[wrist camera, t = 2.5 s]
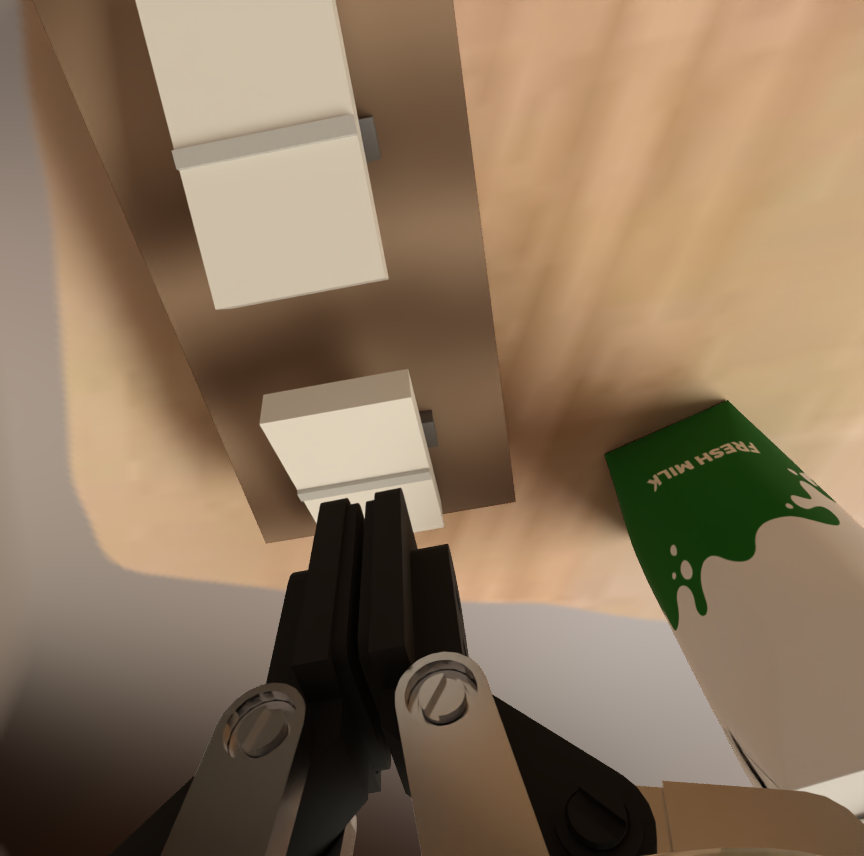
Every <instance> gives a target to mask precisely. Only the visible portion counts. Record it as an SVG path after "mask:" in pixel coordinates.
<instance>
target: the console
mask: <svg viewBox="0 0 864 856" xmlns="http://www.w3.org/2000/svg"><path fill="white" fill-rule="evenodd" d="M32 1H33V3H34V5H35V8H36V10H37V12H38V15H39V17H40V19H41V22H42V24H43V26H44V29H45V31H46V33H47V36H48V38H49V40H50V43H51V45H52V47H53V50H54V52H55V54H56V57H57V59H58V61H59V64H60V66H61V68H62V70H63V73H64V75H65V77H66V80H67V82H68V84H69V87H70V89H71V91H72V94H73V96H74V98H75V101H76V103H77V105H78V108H79V110H80V112H81V115H82V117H83V119H84V122H85V124H86V126H87V129H88V131H89V133H90V136H91V138H92V140H93V143H94V145H95V147H96V149H97V152H98V154H99V156H100V159H101V161H102V163H103V166H104V168H105V170H106V173H107V175H108V177H109V180H110V182H111V184H112V187H113V189H114V191H115V194H116V196H117V198H118V201H119V203H120V205H121V208H122V210H123V212H124V215H125V217H126V219H127V222H128V224H129V226H130V229H131V231H132V233H133V235H134V238H135V240H136V242H137V245H138V247H139V249H140V252H141V254H142V256H143V259H144V261H145V263H146V266H147V268H148V270H149V273H150V275H151V277H152V280H153V282H154V284H155V287H156V289H157V291H158V294H159V296H160V298H161V301H162V303H163V305H164V308H165V310H166V312H167V315H168V317H169V319H170V321H171V324H172V326H173V328H174V331H175V333H176V335H177V338H178V340H179V342H180V345H181V347H182V349H183V352H184V354H185V356H186V359H187V361H188V363H189V366H190V368H191V370H192V373H193V375H194V377H195V380H196V382H197V384H198V387H199V389H200V391H201V394H202V396H203V398H204V401H205V403H206V405H207V407H208V410H209V412H210V414H211V417H212V419H213V421H214V424H215V426H216V428H217V431H218V433H219V435H220V438H221V440H222V442H223V445H224V447H225V449H226V452H227V454H228V456H229V459H230V461H231V463H232V466H233V468H234V470H235V473H236V475H237V477H238V480H239V482H240V484H241V486H242V489H243V491H244V493H245V496H246V498H247V500H248V503H249V505H250V507H251V510H252V512H253V514H254V517H255V519H256V521H257V524H258V526H259V528H260V531H261V533H262V535H263V538H264V540H265V542H266V544H267V543H273V542H279V541H285V540H291V539H296V538H302V537H308V536H314V535H315V530H316V524H317V523H316V522H315V520H314V518H313V517H312V515H311V513H310V511H309V510H308V508H307V506H306V504H305V503H304V501H302V502H301V500H300V499H299V497H298V495H297V489H296V487H295V485H294V483H293V482H292V480H291V478H290V477H289V475H288V473H287V471H286V470H285V468H284V466H283V464H282V463H281V461H280V459H279V457H278V456H277V454H276V452H275V450H274V449H273V447H272V445H271V444H270V442H269V440H268V438H267V437H266V435H265V433H264V431H263V430H262V428H261V426H260V424H259V423H260V416H261V408H262V401H263V395H265V394H271V393H276V392H282V391H287V390H293V389H298V388H304V387H309V386H315V385H321V384H326V383H332V382H337V381H343V380H348V379H354V378H359V377H365V376H371V375H376V374H382V373H387V372H393V371H398V370H404V369H408V370H409V374H410V378H411V382H412V387H413V391H414V395H415V399H416V403H417V407H418V411H419V415H420V419H421V423H422V427H423V431H424V435H425V439H426V443H427V447H428V451H429V455H430V459H431V463H432V467H433V471H434V475H435V479H436V483H437V487H438V491H439V495H440V499H441V505H442V513H443V514H446V513H452V512H458V511H464V510H470V509H476V508H482V507H488V506H494V505H499V504H505V503H511V502H516V500H515V492H514V484H513V476H512V468H511V460H510V452H509V444H508V436H507V428H506V420H505V412H504V404H503V396H502V388H501V380H500V372H499V364H498V356H497V348H496V340H495V332H494V324H493V316H492V308H491V300H490V292H489V284H488V276H487V268H486V260H485V252H484V244H483V236H482V228H481V220H480V212H479V204H478V196H477V188H476V180H475V172H474V164H473V156H472V148H471V140H470V132H469V124H468V116H467V108H466V100H465V92H464V84H463V76H462V68H461V60H460V52H459V44H458V36H457V28H456V20H455V12H454V4H453V0H336V6H337V11H338V16H339V21H340V27H341V32H342V37H343V42H344V48H345V53H346V58H347V63H348V68H349V74H350V79H351V84H352V89H353V95H354V100H355V105H356V110H357V115H358V121H359V126H360V131H361V136H362V142H363V147H364V152H365V157H366V163H367V168H368V173H369V178H370V183H371V189H372V194H373V199H374V204H375V210H376V215H377V220H378V225H379V230H380V236H381V241H382V246H383V251H384V257H385V262H386V267H387V272H388V277H389V279H388V280H382V281H377V282H372V283H366V284H361V285H356V286H350V287H345V288H340V289H334V290H329V291H324V292H318V293H313V294H308V295H302V296H297V297H292V298H287V299H281V300H276V301H271V302H265V303H260V304H255V305H249V306H244V307H239V308H233V309H220V310H215V306H214V302H213V298H212V294H211V290H210V287H209V283H208V279H207V275H206V271H205V267H204V263H203V260H202V256H201V252H200V248H199V244H198V240H197V236H196V233H195V229H194V225H193V221H192V217H191V213H190V209H189V206H188V202H187V198H186V194H185V190H184V186H183V182H182V179H181V175H180V171H179V170H177V169H176V166H175V162H174V158H173V154H172V151H171V150H174V148H173V144H172V140H171V136H170V132H169V128H168V125H167V121H166V117H165V113H164V109H163V105H162V101H161V98H160V94H159V90H158V86H157V82H156V78H155V74H154V71H153V67H152V63H151V59H150V55H149V51H148V47H147V44H146V40H145V36H144V32H143V28H142V24H141V20H140V17H139V13H138V9H137V5H136V1H135V0H32Z"/></svg>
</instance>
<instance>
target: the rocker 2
mask: <svg viewBox="0 0 864 856" xmlns="http://www.w3.org/2000/svg"><path fill="white" fill-rule="evenodd" d="M259 424H260V426H261V428H262V430H263V431H264V433H265V435H266V437H267V438H268V440H269V442H270V444H271V445H272V447H273V449H274V450H275V452H276V454H277V456H278V457H279V459H280V461H281V463H282V464H283V466H284V468H285V470H286V471H287V473H288V475H289V477H290V478H291V480H292V482H293V483H294V485H295V487H296V489H297V495H298V497H299V499H300V500H301V502H302V501H304V503H305V504H306V506H307V508H308V510H309V511H310V513H311V515H312V517H313V518H314V520H315V522H316V523H317V519H318V513H319V507H320V504H321V503H323V502H328V501H334V500H339V499H344V498H348V499H349V501H350V503H351V504H355V503H359V504H360V506H361V509H362V512H363V515H364V518H365V506H366V501H371V500H374V495H375V493H376V492H381V491H386V490H391V489H396V488H402V491H403V494H404V498H405V502H406V505H407V509H408V513H409V517H410V521H411V525H412V529H413V533H414V532H420V531H426V530H432V529H438V528H444V520H443V513H442V505H441V499H440V495H439V491H438V487H437V483H436V479H435V475H434V471H433V467H432V463H431V459H430V455H429V451H428V447H427V443H426V439H425V435H424V431H423V427H422V423H421V419H420V415H419V411H418V407H417V403H416V399H415V395H414V391H413V387H412V382H411V378H410V374H409V370H408V369H404V370H398V371H393V372H387V373H382V374H376V375H371V376H365V377H359V378H354V379H348V380H343V381H337V382H332V383H326V384H321V385H315V386H309V387H304V388H298V389H293V390H287V391H282V392H276V393H271V394H265V395H263V401H262V408H261V416H260V423H259Z"/></svg>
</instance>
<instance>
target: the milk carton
mask: <svg viewBox="0 0 864 856" xmlns="http://www.w3.org/2000/svg"><path fill="white" fill-rule="evenodd" d="M604 455H605V458H606V461H607V464H608V467H609V471H610V474H611V477H612V480H613V483H614V487H615V490H616V493H617V497H618V500H619V504H620V507H621V510H622V514H623V517H624V521H625V524H626V527H627V530H628V534H629V537H630V540H631V543H632V546H633V548H634V551H635V554H636V556H637V558H638V561H639V563H640V565H641V567H642V570H643V572H644V574H645V576H646V579H647V581H648V583H649V585H650V587H651V589H652V591H653V593H654V595H655V597H656V599H657V601H658V603H659V605H660V607H661V609H662V611H663V613H664V615H665V617H666V619H667V621H668V623H669V625H670V627H671V629H672V631H673V633H674V635H675V637H676V639H677V641H678V643H679V645H680V647H681V649H682V651H683V653H684V655H685V657H686V659H687V661H688V662H689V665H690V667H691V669H692V671H693V672H694V675H695V676H696V679H697V681H698V682H699V684H700V686H701V688H702V690H703V692H704V694H705V696H706V698H707V700H708V702H709V704H710V706H711V708H712V710H713V712H714V714H715V715H716V717H717V719H718V721H719V723H720V725H721V726H722V728H723V730H724V732H725V735H726V737H727V739H728V741H729V743H730V745H731V747H732V749H733V751H734V753H735V754H736V756H737V758H738V760H739V762H740V763H741V766H742V768H743V769H744V771H745V773H746V774H747V776H748V778H749V779H750V781H751V783H752V785H753V786H754V788H767V789H780V790H794V791H805V792H810V793H814V794H818V795H822V796H826V797H828V798H830V799H831V800H833V801H835V802H837V803H838V804H840V805H842V806H844V807H846V808H847V809H848V810H850V811H851V812H852V813H853V814H854V815H855V816H856V817H857V818H858V819H859V820H860V821H861V822H862V823H863V824H864V528H863V527H861V526H860V525H859V524H858V523H857V522H856V521H855V520H854V519H853V518H852V517H851V516H850V515H849V514H848V513H847V512H846V511H845V510H844V509H842V508H841V507H840V506H839V505H838V504H837V503H836V502H835V501H834V500H833V499H832V498H831V497H830V496H829V495H828V494H827V493H826V492H825V491H823V490H822V489H821V488H820V487H819V486H818V485H817V484H816V483H815V482H814V481H813V480H812V479H810V478H809V477H808V476H807V475H806V474H805V473H804V472H803V471H802V470H801V469H800V468H799V467H798V466H797V465H796V464H795V463H794V462H793V461H792V460H791V459H789V458H788V457H787V456H786V455H785V454H784V453H783V452H782V451H781V450H780V449H779V448H778V447H777V446H776V445H775V444H774V443H772V442H771V441H770V440H769V439H768V438H767V437H766V436H765V435H764V434H763V433H762V432H761V431H760V430H759V429H757V428H756V427H755V426H754V425H753V424H752V423H751V422H750V421H749V420H748V419H747V418H746V417H745V416H744V415H743V414H741V413H740V412H739V411H738V410H737V409H736V408H735V407H734V406H733V405H732V404H731V403H730V402H729V401H728V400H727V401H725V402H723V403H720V404H718V405H716V406H714V407H711V408H709V409H707V410H704V411H702V412H700V413H698V414H695V415H693V416H691V417H689V418H686V419H684V420H682V421H679V422H677V423H675V424H673V425H670V426H668V427H666V428H663V429H661V430H659V431H657V432H654V433H652V434H650V435H648V436H645V437H643V438H641V439H638V440H636V441H634V442H632V443H629V444H627V445H625V446H622V447H620V448H618V449H616V450H613V451H611V452H609V453H607V454H604Z"/></svg>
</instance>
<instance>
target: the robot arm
mask: <svg viewBox="0 0 864 856" xmlns="http://www.w3.org/2000/svg"><path fill="white" fill-rule="evenodd" d="M391 755H392V757H393V760H394V763H395V765H396V768H397V771H398V773H399V776H400V779H401V782H402V784H403V787H404V790H405V792H406V794H408V795H409V796H410V797H411V798H412V804H413V809H414V815H415V820H416V826H417V832H418V837H419V843H420V848H421V854H422V856H864V824H863V823H862V822H861V821H860V820H859V819H858V818H857V817H856V816H855V815H854V814H853V813H852V812H851V811H850V810H848V809H847V808H846V807H844V806H842V805H840V804H838V803H837V802H835V801H833V800H831V799H830V798H828V797H826V796H822V795H818V794H814V793H810V792H805V791H794V790H780V789H767V788H753V787H739V786H725V785H711V784H698V783H684V782H670V781H662V788H659V787H647V786H635V785H634V784H632V783H631V782H630V781H629V780H628V779H627V778H625V777H624V776H623V775H621V774H620V773H618V772H617V771H615V770H613V769H612V768H610V767H608V766H607V765H605V764H603V763H602V762H600V761H599V760H597V759H596V758H594V757H592V756H591V755H589V754H587V753H586V752H584V751H583V750H581V749H579V748H578V747H576V746H574V745H573V744H571V743H570V742H568V741H566V740H565V739H563V738H562V737H560V736H558V735H557V734H555V733H553V732H552V731H550V730H549V729H547V728H545V727H544V726H542V725H540V724H539V723H537V722H536V721H534V720H532V719H531V718H529V717H528V716H526V715H525V714H523V713H521V712H520V711H518V710H516V709H515V708H513V707H512V706H510V705H508V704H507V703H505V702H504V701H502V700H500V699H499V698H497V697H495V696H494V695H492V693H491V690H490V687H489V684H488V682H487V679H486V676H485V675H484V673H483V671H482V669H481V668H480V666H479V665H478V664H477V663H476V662H474V661H473V660H472V659H471V658H469V656H468V649H467V642H466V636H465V629H464V623H463V615H462V609H461V603H460V597H459V591H458V586H457V581H456V576H455V571H454V566H453V562H452V557H451V553H450V549H449V545H448V544H444V545H439V546H433V547H428V548H423V549H418V548H417V545H416V541H415V537H414V533H413V529H412V525H411V521H410V517H409V513H408V509H407V505H406V502H405V498H404V494H403V491H402V488H396V489H391V490H386V491H381V492H376V493H375V495H374V500H371V501H366V506H365V518H364V515H363V512H362V509H361V506H360V504H359V503H355V504H351V503H350V501H349V499H348V498H344V499H339V500H334V501H328V502H323V503H321V504H320V507H319V513H318V519H317V524H316V530H315V535H314V541H313V546H312V552H311V558H310V563H309V569H308V570H305V571H300V572H295V573H292V574H291V576H290V578H289V581H288V585H287V590H286V595H285V599H284V604H283V609H282V613H281V618H280V622H279V627H278V632H277V636H276V641H275V646H274V650H273V654H272V659H271V664H270V668H269V673H268V678H267V682H266V684H264V685H260V686H258V687H256V688H253V689H251V690H249V691H247V692H246V693H244V694H243V695H242V696H240V697H239V698H237V699H236V700H235V701H234V702H233V703H232V704H231V705H230V706H229V707H228V708H227V710H226V711H225V712H224V713H223V715H222V717H221V718H220V720H219V722H218V724H217V725H216V728H215V730H214V732H213V735H212V737H211V739H210V742H209V744H208V746H207V749H206V751H205V754H204V756H203V758H202V760H201V763H200V765H199V767H198V770H197V772H196V774H195V776H194V777H192V778H191V779H190V780H189V781H188V782H187V783H186V784H185V785H184V786H183V787H182V788H181V789H180V790H179V791H177V792H176V793H175V794H174V795H173V796H172V797H171V798H170V799H169V800H168V801H167V802H166V803H165V804H164V805H162V806H161V807H160V808H159V809H158V810H157V811H156V812H155V813H154V814H153V815H152V816H151V817H150V818H149V819H147V820H146V821H145V822H144V823H143V824H142V825H141V826H140V827H139V828H138V829H137V830H136V831H135V832H134V833H133V834H131V835H130V836H129V837H128V838H127V839H126V840H125V841H124V842H123V843H122V844H121V845H120V846H119V847H117V848H116V849H115V850H114V851H113V852H112V853H111V854H110V855H109V856H352V854H353V848H354V842H355V837H356V823H357V819H356V813H357V812H358V811H359V810H360V809H361V807H362V806H363V805H364V804H365V803H366V801H367V800H368V793H374V792H379V791H381V770H387V769H390V766H391Z"/></svg>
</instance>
